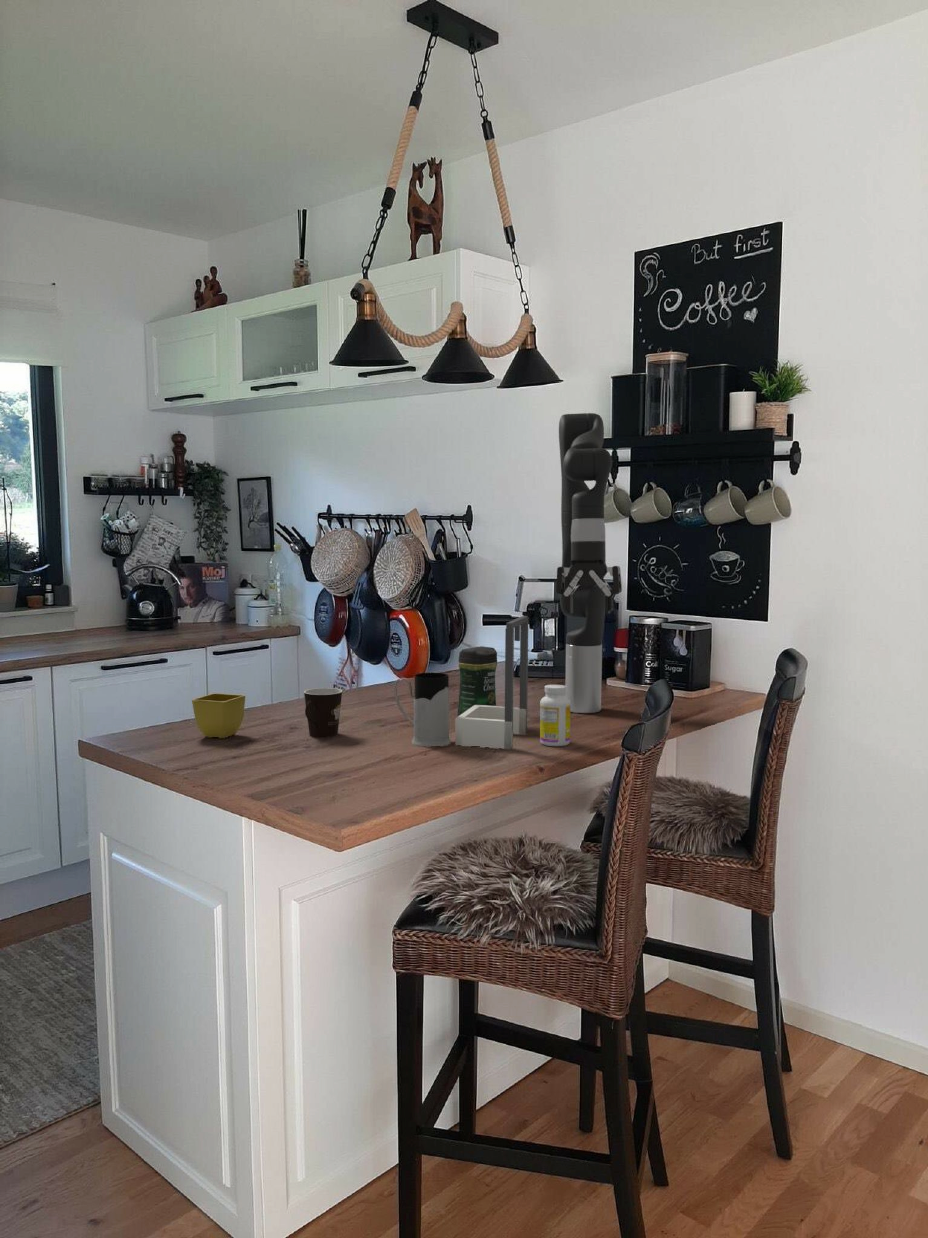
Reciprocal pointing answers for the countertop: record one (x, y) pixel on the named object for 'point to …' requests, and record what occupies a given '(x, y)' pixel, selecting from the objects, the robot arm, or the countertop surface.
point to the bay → (499, 721)
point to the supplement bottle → (555, 716)
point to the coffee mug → (323, 711)
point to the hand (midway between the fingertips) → (588, 613)
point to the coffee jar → (477, 677)
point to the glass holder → (429, 709)
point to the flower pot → (219, 714)
